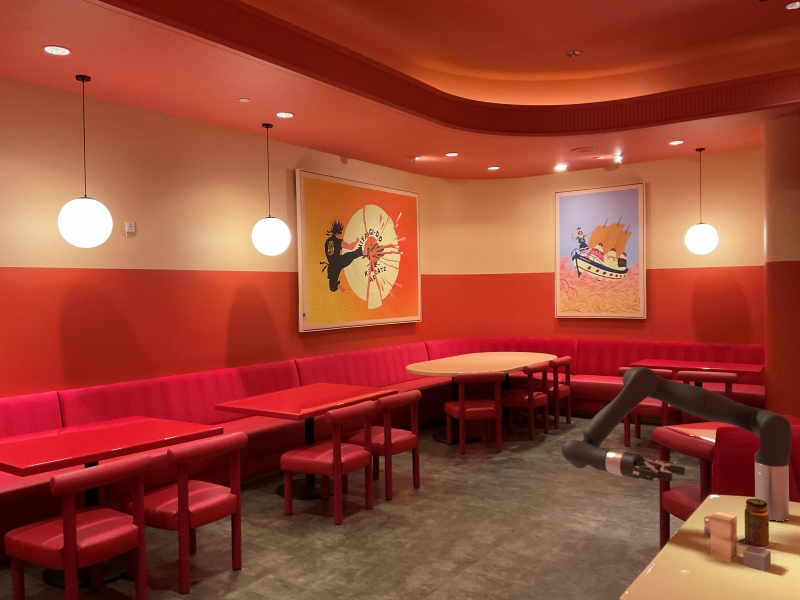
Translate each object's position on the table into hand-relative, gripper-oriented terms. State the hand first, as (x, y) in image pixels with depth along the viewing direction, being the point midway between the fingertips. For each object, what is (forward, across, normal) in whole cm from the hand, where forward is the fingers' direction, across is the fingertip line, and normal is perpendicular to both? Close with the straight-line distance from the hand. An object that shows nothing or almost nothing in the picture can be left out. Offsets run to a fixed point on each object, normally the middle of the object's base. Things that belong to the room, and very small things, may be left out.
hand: (678, 474), depth 181 cm
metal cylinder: (+4, +13, +20) cm, 24 cm away
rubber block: (+20, 0, +20) cm, 29 cm away
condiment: (+15, +15, +20) cm, 29 cm away
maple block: (+12, 0, +20) cm, 23 cm away
